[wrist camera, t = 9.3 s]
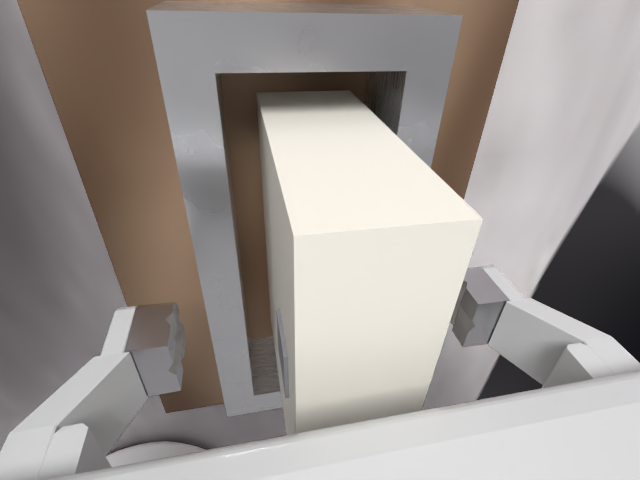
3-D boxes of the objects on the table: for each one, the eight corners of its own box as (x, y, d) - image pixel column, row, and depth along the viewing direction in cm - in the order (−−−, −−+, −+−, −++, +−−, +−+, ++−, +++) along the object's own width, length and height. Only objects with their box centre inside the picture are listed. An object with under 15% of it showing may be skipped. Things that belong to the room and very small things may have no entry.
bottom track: (412, 5, 11) (462, 15, 9) (364, 339, 20) (383, 390, 17) (164, 0, 10) (145, 10, 8) (226, 359, 19) (226, 417, 16)
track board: (541, -147, 11) (561, -154, 10) (410, 360, 23) (415, 371, 23) (-41, -208, 8) (-64, -223, 7) (167, 399, 21) (165, 413, 20)
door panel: (352, 90, 12) (488, 218, 6) (336, 309, 18) (397, 495, 12) (252, 92, 12) (286, 236, 5) (268, 318, 18) (294, 518, 11)
